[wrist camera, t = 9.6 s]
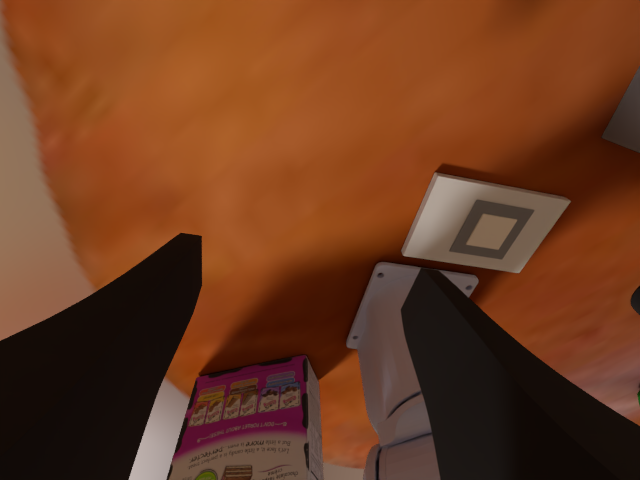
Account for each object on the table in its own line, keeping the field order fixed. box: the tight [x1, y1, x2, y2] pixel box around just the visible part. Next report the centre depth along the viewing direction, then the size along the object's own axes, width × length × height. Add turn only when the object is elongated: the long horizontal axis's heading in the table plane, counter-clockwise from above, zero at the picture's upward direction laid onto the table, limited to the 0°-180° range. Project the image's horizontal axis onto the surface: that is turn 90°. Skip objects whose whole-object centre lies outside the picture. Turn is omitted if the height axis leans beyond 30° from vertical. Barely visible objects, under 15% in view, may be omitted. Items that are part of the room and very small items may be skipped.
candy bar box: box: [167, 355, 323, 480], centre depth 24 cm, size 11×5×16 cm, turn 106°
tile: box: [401, 172, 571, 273], centre depth 21 cm, size 6×9×1 cm, turn 78°
